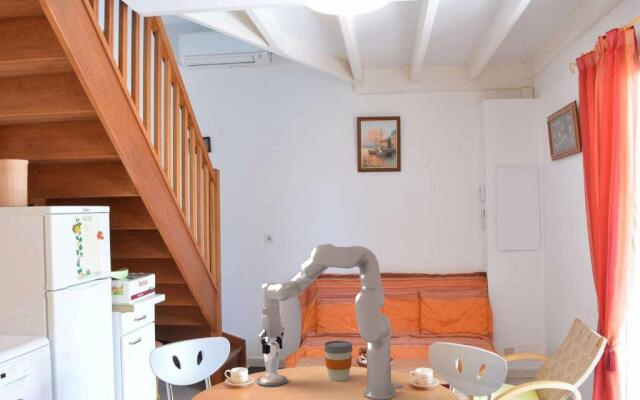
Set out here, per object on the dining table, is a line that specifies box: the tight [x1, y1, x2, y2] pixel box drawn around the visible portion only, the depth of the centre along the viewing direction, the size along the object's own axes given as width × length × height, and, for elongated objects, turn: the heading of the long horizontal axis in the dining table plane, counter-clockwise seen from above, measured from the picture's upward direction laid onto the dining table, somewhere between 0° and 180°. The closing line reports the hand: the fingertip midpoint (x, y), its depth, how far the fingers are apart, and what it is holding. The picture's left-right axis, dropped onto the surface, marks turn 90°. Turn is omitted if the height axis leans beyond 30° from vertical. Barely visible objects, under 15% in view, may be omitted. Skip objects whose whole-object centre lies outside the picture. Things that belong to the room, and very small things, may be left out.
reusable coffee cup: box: [323, 340, 353, 382], centre depth 219 cm, size 13×13×15 cm
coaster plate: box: [256, 374, 288, 388], centre depth 215 cm, size 13×13×2 cm
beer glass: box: [263, 341, 281, 381], centre depth 215 cm, size 7×7×15 cm
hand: (272, 351), depth 215 cm, fingers open, 9 cm apart
